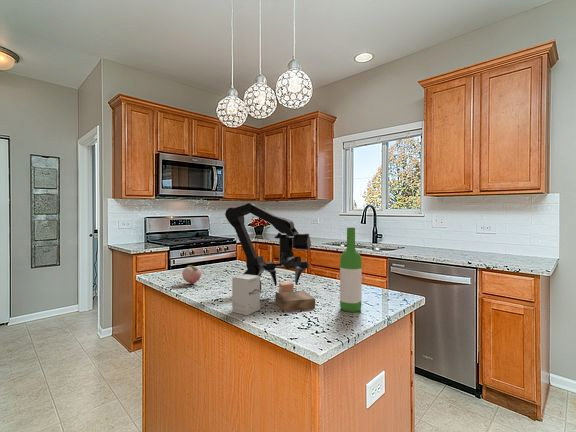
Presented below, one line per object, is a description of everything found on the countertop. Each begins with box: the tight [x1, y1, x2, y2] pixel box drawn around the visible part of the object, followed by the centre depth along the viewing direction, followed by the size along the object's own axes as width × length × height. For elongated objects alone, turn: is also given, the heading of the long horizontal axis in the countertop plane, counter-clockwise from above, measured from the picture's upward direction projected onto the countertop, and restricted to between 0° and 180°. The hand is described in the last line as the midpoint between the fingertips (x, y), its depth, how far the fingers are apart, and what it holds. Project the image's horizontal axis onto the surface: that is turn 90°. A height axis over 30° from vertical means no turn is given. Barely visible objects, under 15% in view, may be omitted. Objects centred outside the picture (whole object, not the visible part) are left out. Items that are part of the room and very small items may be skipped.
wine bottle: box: [339, 227, 363, 313], centre depth 117 cm, size 8×8×30 cm
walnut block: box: [275, 290, 316, 312], centre depth 123 cm, size 12×12×4 cm
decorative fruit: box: [181, 264, 203, 285], centre depth 156 cm, size 9×8×10 cm
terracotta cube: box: [278, 281, 295, 293], centre depth 137 cm, size 5×5×5 cm
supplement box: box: [231, 273, 261, 316], centre depth 115 cm, size 7×7×13 cm
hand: (285, 285), depth 137 cm, fingers open, 9 cm apart
